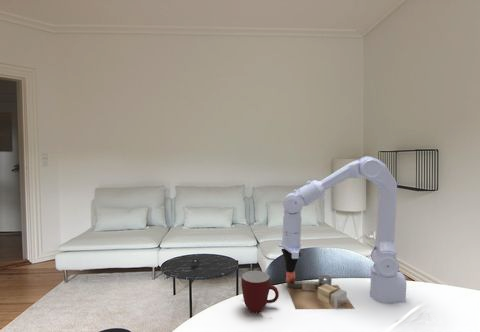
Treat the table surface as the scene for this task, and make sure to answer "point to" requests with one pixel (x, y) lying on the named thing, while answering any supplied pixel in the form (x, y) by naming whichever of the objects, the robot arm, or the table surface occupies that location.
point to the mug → (257, 290)
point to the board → (312, 299)
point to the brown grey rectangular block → (338, 299)
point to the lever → (306, 282)
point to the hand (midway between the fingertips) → (289, 272)
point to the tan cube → (326, 293)
